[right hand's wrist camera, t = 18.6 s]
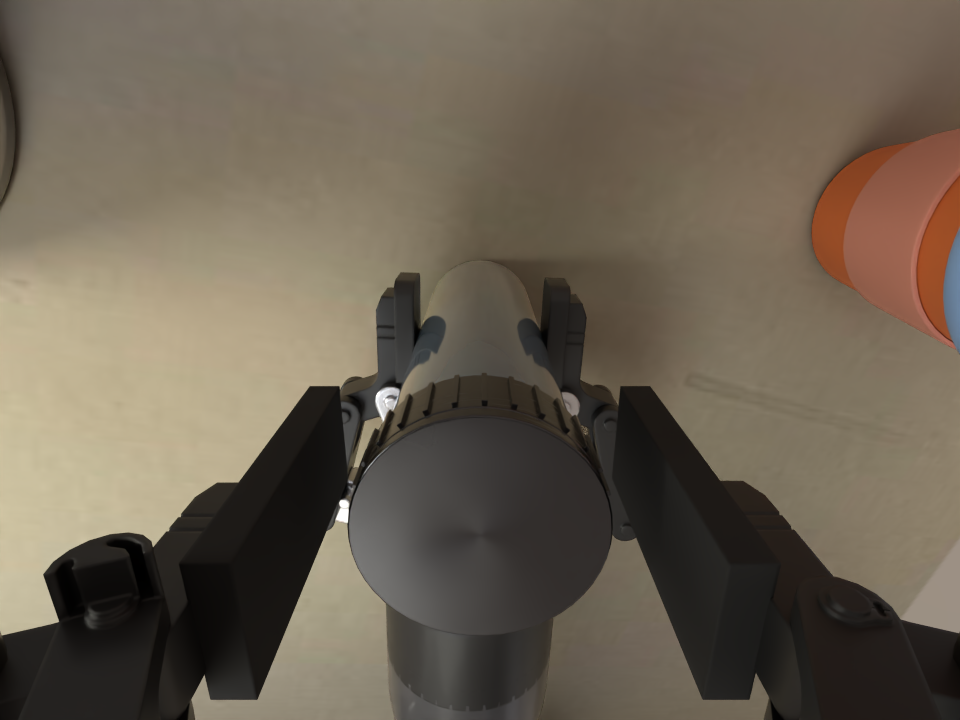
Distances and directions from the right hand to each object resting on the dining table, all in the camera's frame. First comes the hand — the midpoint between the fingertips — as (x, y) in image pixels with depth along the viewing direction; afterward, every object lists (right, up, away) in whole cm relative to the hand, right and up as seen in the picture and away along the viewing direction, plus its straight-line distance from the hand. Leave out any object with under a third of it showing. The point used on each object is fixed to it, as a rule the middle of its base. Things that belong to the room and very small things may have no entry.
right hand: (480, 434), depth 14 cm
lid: (0, -1, -4) cm, 4 cm away
